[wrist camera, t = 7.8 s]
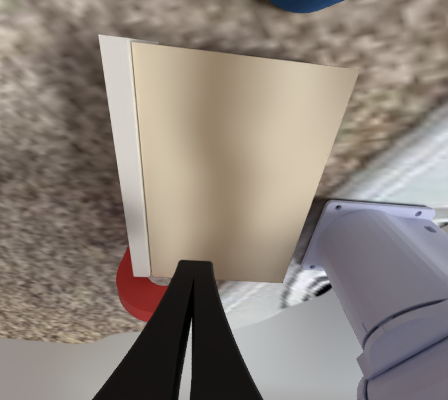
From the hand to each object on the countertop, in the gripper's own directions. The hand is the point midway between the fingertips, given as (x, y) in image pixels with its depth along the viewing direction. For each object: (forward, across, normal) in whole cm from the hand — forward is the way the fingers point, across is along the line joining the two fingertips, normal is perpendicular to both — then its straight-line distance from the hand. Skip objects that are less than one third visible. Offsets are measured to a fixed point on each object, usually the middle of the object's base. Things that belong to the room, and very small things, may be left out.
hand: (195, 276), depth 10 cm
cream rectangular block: (+9, -2, -2) cm, 10 cm away
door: (+9, +4, -2) cm, 10 cm away
